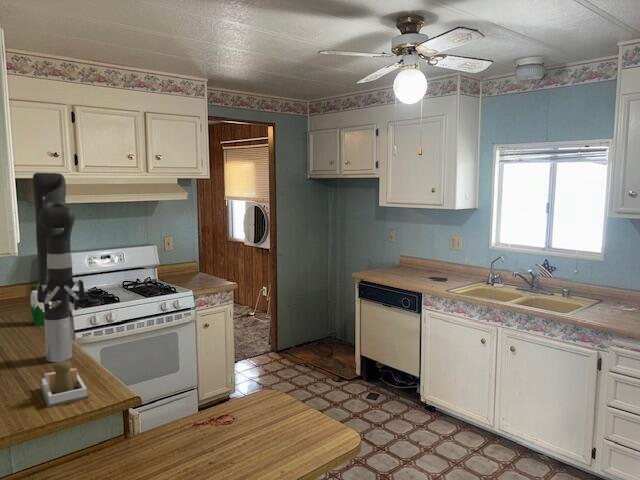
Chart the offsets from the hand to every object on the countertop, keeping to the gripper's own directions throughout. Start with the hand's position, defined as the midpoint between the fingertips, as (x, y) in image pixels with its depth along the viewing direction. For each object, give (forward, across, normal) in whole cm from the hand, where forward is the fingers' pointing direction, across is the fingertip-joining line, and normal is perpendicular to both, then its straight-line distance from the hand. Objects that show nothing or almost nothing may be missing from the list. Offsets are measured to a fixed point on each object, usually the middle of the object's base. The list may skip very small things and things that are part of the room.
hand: (62, 311), depth 166 cm
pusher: (+26, +2, +4) cm, 26 cm away
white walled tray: (+27, +2, +6) cm, 28 cm away
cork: (+26, +2, +9) cm, 28 cm away
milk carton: (+30, -3, -93) cm, 97 cm away
